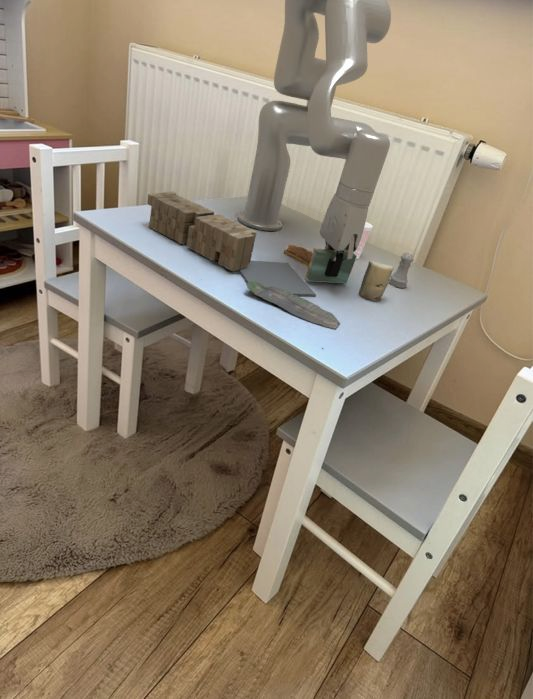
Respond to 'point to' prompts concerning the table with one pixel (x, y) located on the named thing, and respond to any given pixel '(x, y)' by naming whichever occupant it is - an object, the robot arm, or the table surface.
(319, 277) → the plaque
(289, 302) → the mossy stone slab
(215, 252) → the block tower
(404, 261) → the rook chess piece
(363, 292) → the beige rounded chunk
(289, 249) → the shard
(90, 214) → the table surface
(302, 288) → the mat
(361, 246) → the beverage cup
